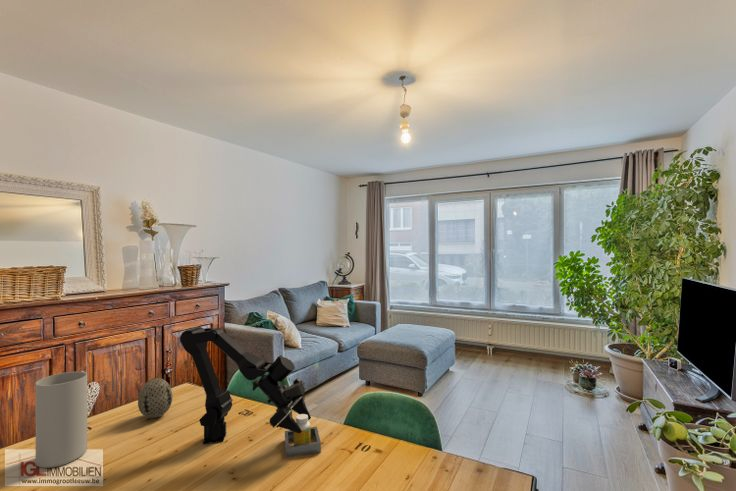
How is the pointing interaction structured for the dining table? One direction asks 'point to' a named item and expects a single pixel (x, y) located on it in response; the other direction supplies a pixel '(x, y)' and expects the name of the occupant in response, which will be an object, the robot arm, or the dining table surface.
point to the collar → (302, 448)
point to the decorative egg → (155, 398)
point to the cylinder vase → (61, 418)
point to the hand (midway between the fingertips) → (305, 425)
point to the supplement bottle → (305, 427)
